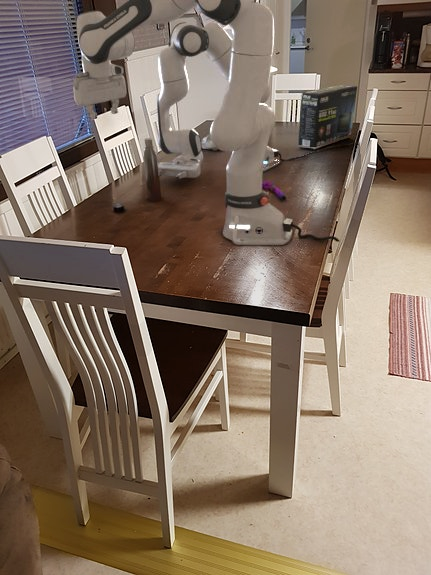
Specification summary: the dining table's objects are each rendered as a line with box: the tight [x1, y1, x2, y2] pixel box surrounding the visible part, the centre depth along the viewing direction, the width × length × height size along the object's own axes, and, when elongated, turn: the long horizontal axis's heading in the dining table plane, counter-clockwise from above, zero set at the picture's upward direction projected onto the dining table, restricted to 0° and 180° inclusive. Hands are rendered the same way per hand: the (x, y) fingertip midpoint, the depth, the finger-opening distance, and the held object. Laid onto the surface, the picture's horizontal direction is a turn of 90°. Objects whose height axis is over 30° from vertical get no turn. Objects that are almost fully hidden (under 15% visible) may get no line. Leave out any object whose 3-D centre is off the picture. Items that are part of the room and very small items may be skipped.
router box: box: [297, 84, 358, 151], centre depth 238 cm, size 36×11×27 cm, turn 134°
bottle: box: [142, 137, 162, 202], centre depth 174 cm, size 5×5×23 cm
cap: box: [112, 203, 125, 214], centre depth 170 cm, size 4×4×2 cm
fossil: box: [201, 132, 219, 152], centre depth 245 cm, size 18×11×15 cm
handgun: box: [262, 180, 287, 202], centre depth 181 cm, size 21×8×2 cm, turn 11°
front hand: (104, 116), depth 153 cm, fingers open, 8 cm apart
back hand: (167, 175), depth 187 cm, fingers open, 8 cm apart
